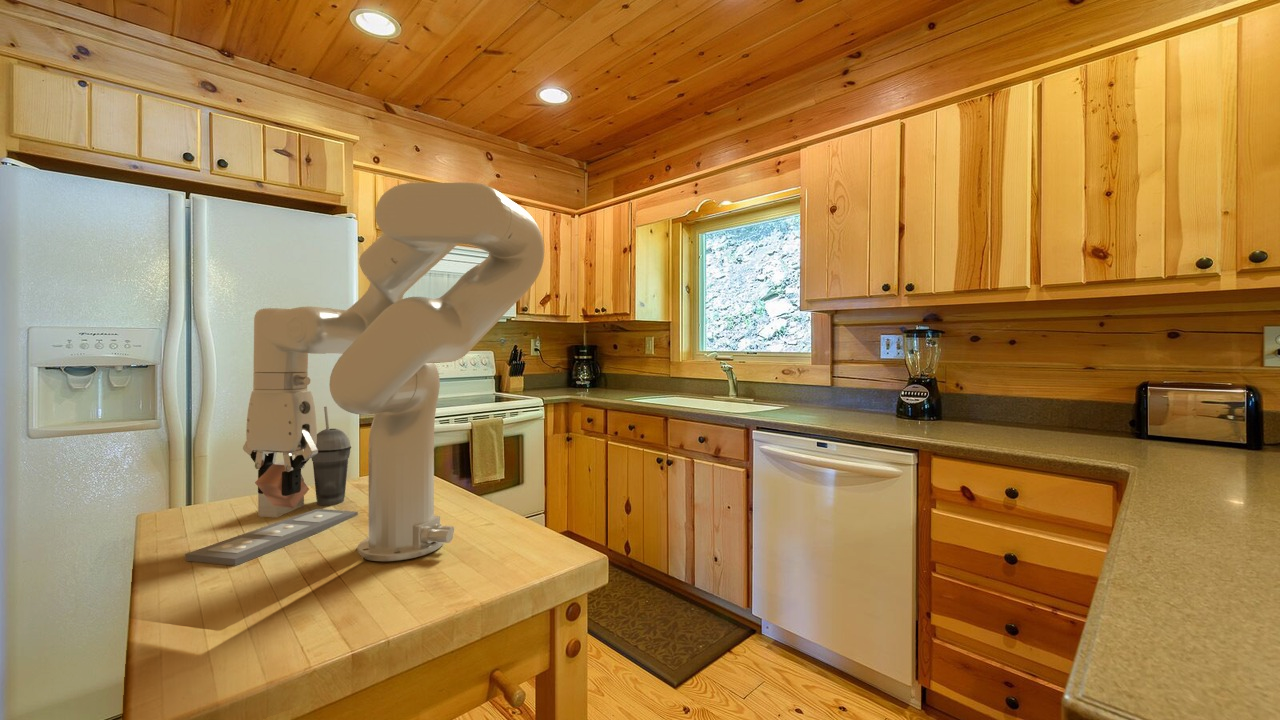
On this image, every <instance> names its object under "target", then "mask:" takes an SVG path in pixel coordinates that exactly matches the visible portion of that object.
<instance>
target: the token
mask: <svg viewBox="0 0 1280 720" xmlns="http://www.w3.org/2000/svg"><path fill="white" fill-rule="evenodd" d="M283 471H286V470H285V465H277V464H272V465H271V466H270V467H269V468H268V469H267V471H266V472H265V473H264V474H263V475H262V476H261V477H260V478H259V479H258V478H257V480H256V481H255V482H254V483H255V485H256V486H257V488H258V487H259V489H260V490H261V491H262V492H263V493H264V495H265V496H266V497H267V498H268V500H269V501H270V502H271V503H272V505H273V506H277V507H287V508H294V507H295V506H296V505H297V503H298V502H299V501H300V500H301V499H302V498H303V496H304V497H305V495H306V494H307V493H308V491H309V490H310V488H309V486H308V484H306V482H305V480H304V481H303V480H302V478H301V491H300V492H298V493H295V494H291V495H288V496H283V495H282V472H283Z"/></svg>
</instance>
